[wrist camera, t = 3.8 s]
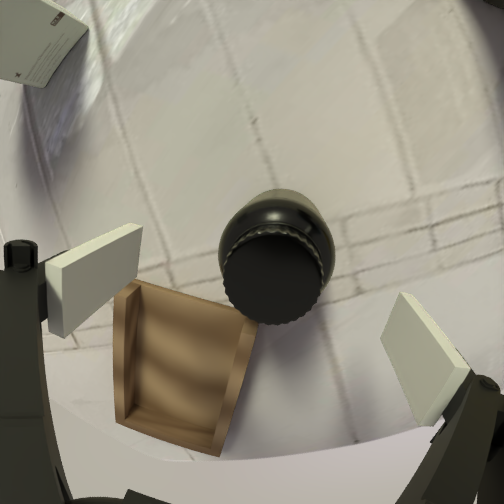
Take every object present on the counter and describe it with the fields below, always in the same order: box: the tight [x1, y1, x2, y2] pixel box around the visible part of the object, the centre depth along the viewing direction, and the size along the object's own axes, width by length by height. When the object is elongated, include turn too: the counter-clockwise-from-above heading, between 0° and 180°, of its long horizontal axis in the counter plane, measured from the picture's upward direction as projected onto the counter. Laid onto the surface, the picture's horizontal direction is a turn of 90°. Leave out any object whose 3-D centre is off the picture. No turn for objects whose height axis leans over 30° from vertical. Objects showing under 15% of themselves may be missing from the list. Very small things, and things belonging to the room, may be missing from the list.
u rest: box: [113, 279, 259, 457], centre depth 30 cm, size 17×12×4 cm
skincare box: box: [0, 0, 88, 88], centre depth 16 cm, size 8×6×15 cm
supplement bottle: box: [218, 189, 335, 325], centre depth 21 cm, size 7×7×12 cm
